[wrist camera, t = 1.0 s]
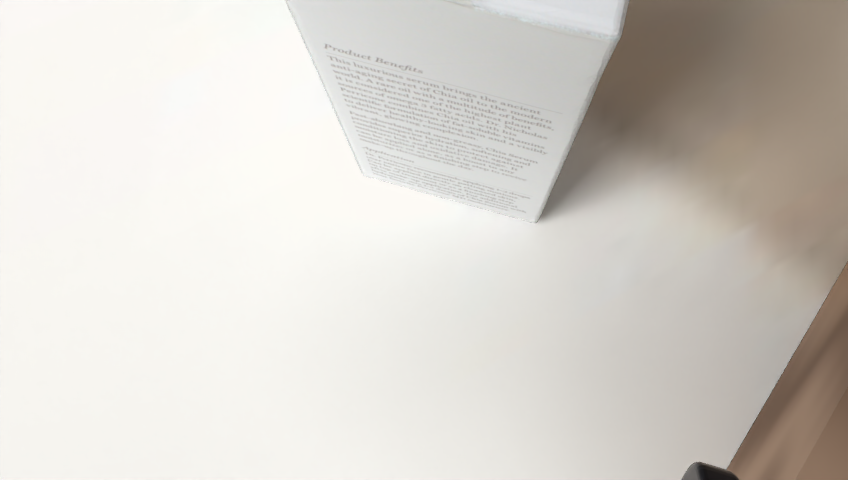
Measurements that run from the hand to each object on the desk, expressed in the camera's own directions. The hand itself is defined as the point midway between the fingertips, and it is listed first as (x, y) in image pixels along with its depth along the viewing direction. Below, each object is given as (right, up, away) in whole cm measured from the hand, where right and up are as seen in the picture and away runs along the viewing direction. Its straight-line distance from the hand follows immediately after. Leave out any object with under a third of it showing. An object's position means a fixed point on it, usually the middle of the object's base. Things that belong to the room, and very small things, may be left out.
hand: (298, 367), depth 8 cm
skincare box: (+3, +5, +15) cm, 16 cm away
